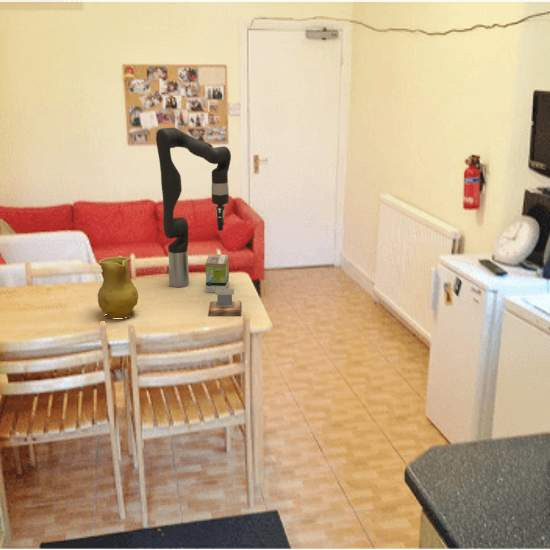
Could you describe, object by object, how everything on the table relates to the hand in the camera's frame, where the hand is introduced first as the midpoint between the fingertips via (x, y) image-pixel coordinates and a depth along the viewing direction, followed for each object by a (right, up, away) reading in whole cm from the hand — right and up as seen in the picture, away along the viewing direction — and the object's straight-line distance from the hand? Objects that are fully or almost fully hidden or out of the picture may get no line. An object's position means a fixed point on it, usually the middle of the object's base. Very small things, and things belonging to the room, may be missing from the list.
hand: (220, 227), depth 305 cm
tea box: (-3, -27, +23) cm, 36 cm away
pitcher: (-43, -38, -10) cm, 59 cm away
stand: (+2, -37, -7) cm, 38 cm away
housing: (+2, -35, -7) cm, 36 cm away
